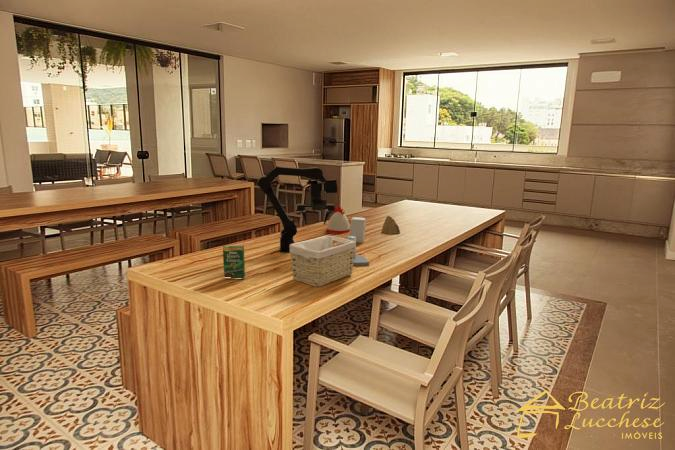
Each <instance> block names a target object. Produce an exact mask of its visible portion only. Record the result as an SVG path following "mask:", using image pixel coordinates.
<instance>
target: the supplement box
mask: <svg viewBox="0 0 675 450" xmlns="http://www.w3.org/2000/svg"><path fill="white" fill-rule="evenodd" d="M366 219H367V218H366V217H355V216H353V217H352V218H351V219H350V232H349V233H350V235H349V236H355V237H356V243H360V244H363V243H364V241H365V238H366V236H365V235H366Z"/></svg>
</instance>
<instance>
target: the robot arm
mask: <svg viewBox="0 0 675 450" xmlns="http://www.w3.org/2000/svg"><path fill="white" fill-rule="evenodd" d="M323 174H324V172H323V170H322V169H321V168H319V167H317V166H312V167H305V168H301V167H285V166H279V165H277V166H274V168H272V170H270V171H269V172H268V173H266V174H265V175H261V176H260V177H259V178H258V180H257V185H258V187H259V188H260V190H261V191H263V193H264V194H265V195H266V196H267V198H268V200H269V201H270V203H271V205H272V207H273V208H274V211H275V212H276V214H277V215H278V217H279V220H280V221H281V224H282V227H283V230H281V231H280V237H279V252H280V253H290V247H289V246H290V244H293V243H295V241H294V237H295V236H296V234H298V233H297V232H298V229H297V228H298V226H297V223H295V221H294V218H293V217H291V218H290V216H288V214H287V212H286V211H285V209H284V207H283V206H282V204H281V202H280V200H279V198H278V197H277V195H276V193H275V192H274V191H275V190H274V189H273V188H274V187H273V185H272V182H273V181H274V180H276V179H277V177H278V176H289V177H290V176H291V177H304V178H307V179H308V180H307V181H306V182H305V184H307V185H309V205H306V204H305V203H297V204H296V205H295V209H296V211H297V212H298V213H300V214H301V215H302V219H303V221H304V224H305V226H307V215H306V210H311V211H314V212H315V211H320V212H321V211H323V210H324V213H323V214H324V216H323V225H324V226H325V225H326V222H327V220H328V217H329V216H330V214H331V213H333V212H334V211H335V204H334V203H327V200H325V199H323V198H322V195H323V194H322V193H323V192H324V194H338V182H337V179H335V178H333V179H326V178H325V177H324V175H323ZM318 181H319V182H318Z"/></svg>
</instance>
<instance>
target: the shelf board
mask: <svg viewBox="0 0 675 450" xmlns="http://www.w3.org/2000/svg"><path fill="white" fill-rule="evenodd" d="M356 266H357V267H358V266H361V267H363V266H370V262H369V260H368V259H367V258H366V256H364V255H363V254H355V259H354V260H353V267H356Z"/></svg>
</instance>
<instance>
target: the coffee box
mask: <svg viewBox="0 0 675 450" xmlns="http://www.w3.org/2000/svg"><path fill="white" fill-rule="evenodd" d="M244 246H245V245H223V246H222V258H223V260H222V261H223V278H224V277H231V278H244V277H246V271H245V270H246V268H245V266H246V265H245V247H244ZM244 279H245V278H244Z"/></svg>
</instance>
